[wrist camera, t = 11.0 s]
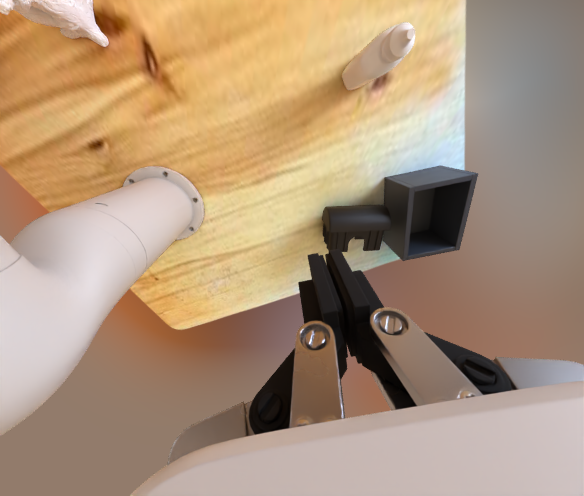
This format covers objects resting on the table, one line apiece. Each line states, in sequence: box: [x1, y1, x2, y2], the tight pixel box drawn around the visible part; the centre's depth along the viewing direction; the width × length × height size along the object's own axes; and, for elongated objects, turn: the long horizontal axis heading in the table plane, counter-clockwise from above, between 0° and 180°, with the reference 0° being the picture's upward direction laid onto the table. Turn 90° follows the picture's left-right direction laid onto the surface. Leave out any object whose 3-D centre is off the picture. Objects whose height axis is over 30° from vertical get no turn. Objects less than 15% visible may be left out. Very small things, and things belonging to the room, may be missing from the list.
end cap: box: [322, 205, 391, 252], centre depth 36 cm, size 10×7×7 cm
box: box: [383, 166, 478, 261], centre depth 35 cm, size 10×13×8 cm
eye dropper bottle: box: [342, 22, 415, 90], centre depth 23 cm, size 4×6×12 cm
